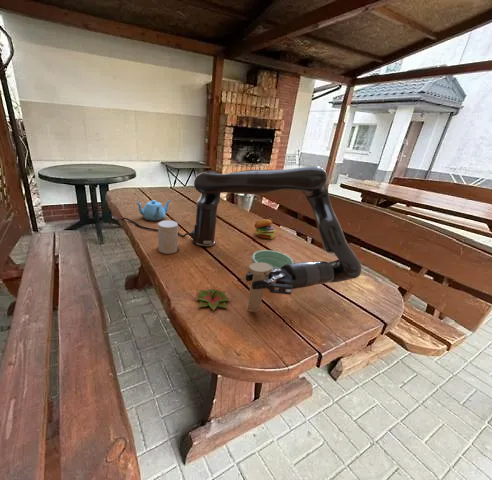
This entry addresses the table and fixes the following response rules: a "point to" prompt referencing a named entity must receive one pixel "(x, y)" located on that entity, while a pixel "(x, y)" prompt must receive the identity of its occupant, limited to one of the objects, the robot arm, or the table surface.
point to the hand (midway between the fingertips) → (249, 281)
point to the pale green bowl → (271, 258)
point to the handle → (259, 274)
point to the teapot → (153, 210)
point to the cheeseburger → (264, 229)
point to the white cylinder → (167, 236)
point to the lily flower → (212, 298)
